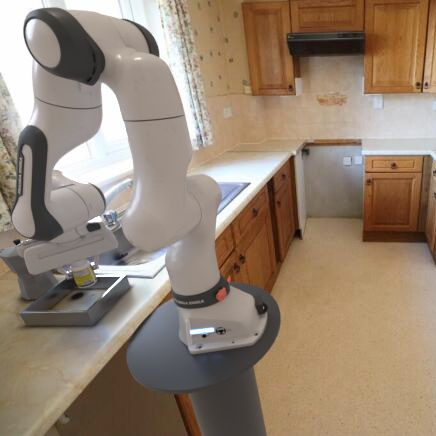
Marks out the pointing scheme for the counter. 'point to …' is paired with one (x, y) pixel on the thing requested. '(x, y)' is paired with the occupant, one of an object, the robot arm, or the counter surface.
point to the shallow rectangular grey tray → (38, 308)
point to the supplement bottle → (83, 273)
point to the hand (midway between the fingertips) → (83, 273)
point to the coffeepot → (27, 274)
